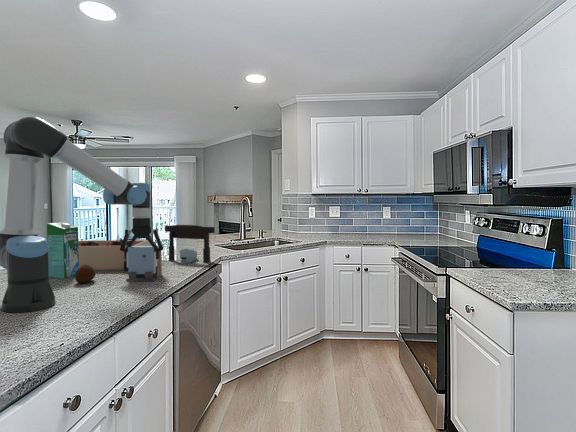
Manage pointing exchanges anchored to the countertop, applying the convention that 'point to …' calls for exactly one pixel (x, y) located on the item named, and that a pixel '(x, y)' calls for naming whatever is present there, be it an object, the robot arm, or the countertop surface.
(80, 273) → the potato
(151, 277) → the cabinet
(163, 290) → the countertop surface
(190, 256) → the stool
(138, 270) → the block
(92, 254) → the planter tray
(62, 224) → the milk carton
